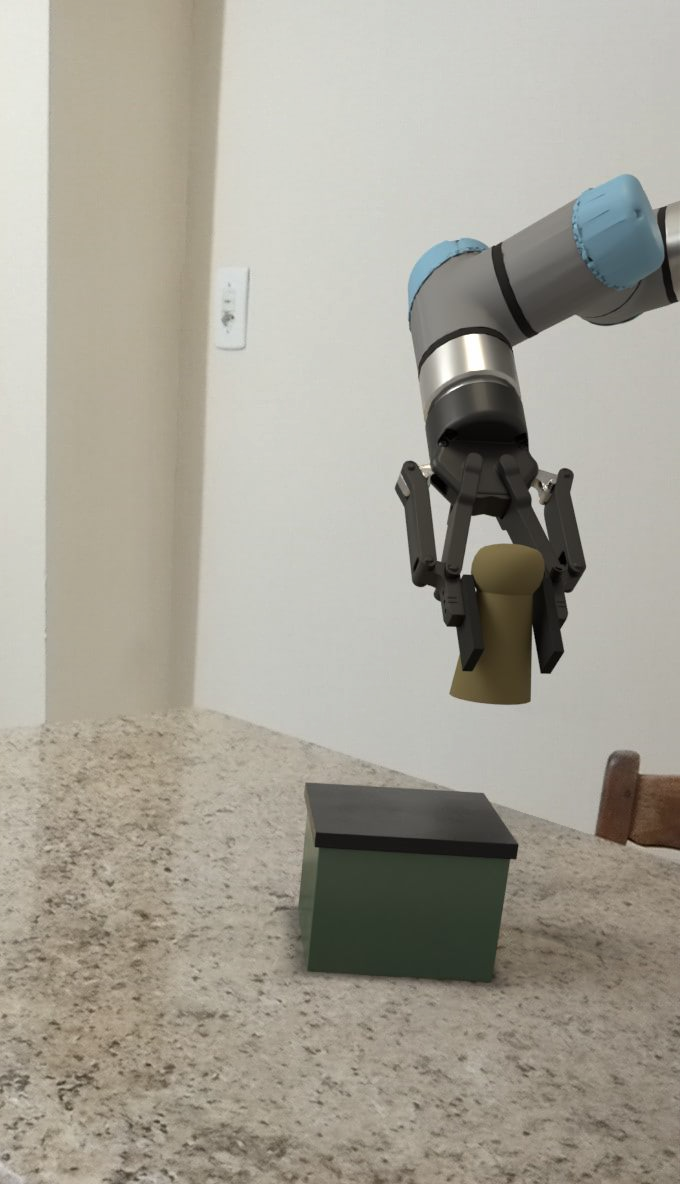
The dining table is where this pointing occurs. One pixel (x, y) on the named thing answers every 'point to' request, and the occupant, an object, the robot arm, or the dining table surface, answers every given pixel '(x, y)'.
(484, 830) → the bin
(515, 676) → the cork
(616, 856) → the dining table surface
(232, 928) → the dining table surface
